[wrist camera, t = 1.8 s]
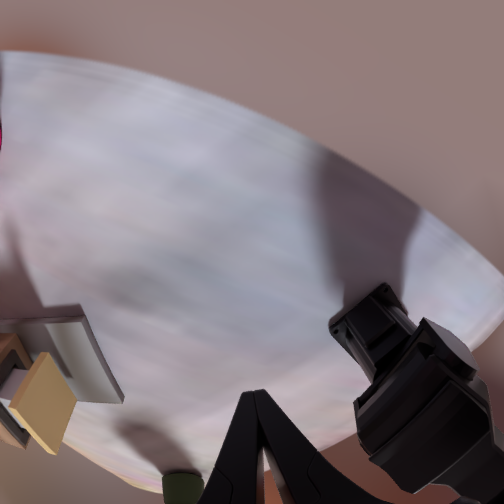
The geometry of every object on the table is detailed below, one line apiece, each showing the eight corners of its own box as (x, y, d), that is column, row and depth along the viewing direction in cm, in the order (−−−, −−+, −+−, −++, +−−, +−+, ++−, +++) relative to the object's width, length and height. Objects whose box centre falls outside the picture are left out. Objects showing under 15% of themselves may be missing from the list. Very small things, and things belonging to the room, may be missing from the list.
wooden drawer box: (85, 315, 20) (38, 395, 12) (124, 396, 24) (106, 473, 15) (-27, 319, 19) (-69, 366, 10) (10, 385, 22) (-17, 436, 14)
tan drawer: (48, 352, 18) (15, 409, 12) (77, 399, 20) (56, 455, 14) (-18, 347, 18) (-49, 388, 11) (8, 389, 20) (-15, 431, 13)
